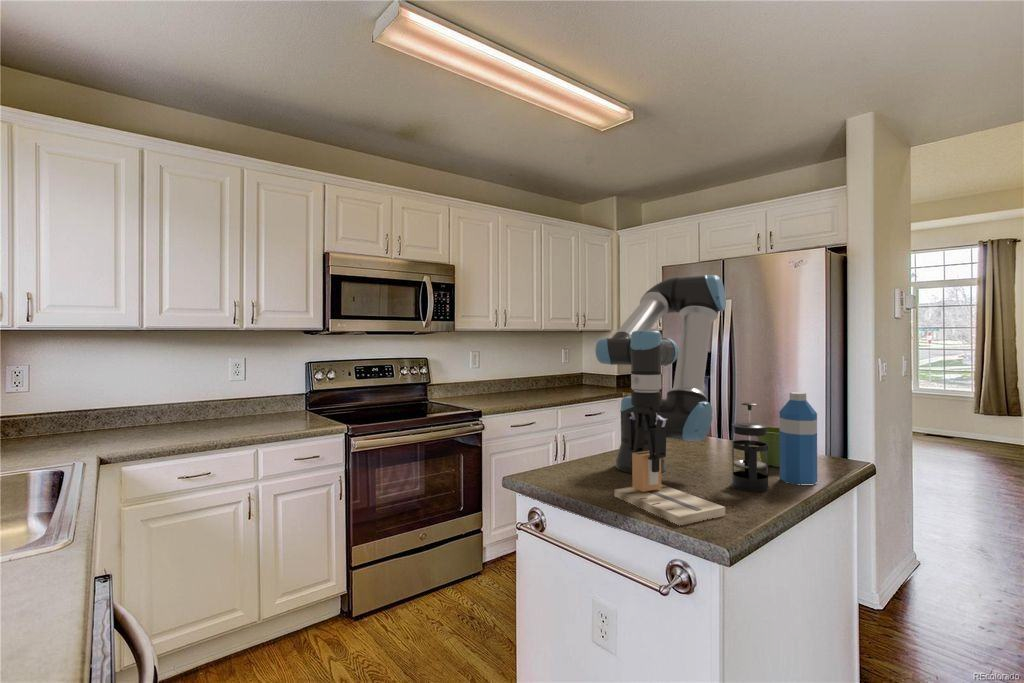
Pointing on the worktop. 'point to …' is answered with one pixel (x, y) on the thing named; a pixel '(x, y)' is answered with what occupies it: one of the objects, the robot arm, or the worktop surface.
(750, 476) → the french press
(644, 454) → the block
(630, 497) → the fader board
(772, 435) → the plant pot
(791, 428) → the water bottle
